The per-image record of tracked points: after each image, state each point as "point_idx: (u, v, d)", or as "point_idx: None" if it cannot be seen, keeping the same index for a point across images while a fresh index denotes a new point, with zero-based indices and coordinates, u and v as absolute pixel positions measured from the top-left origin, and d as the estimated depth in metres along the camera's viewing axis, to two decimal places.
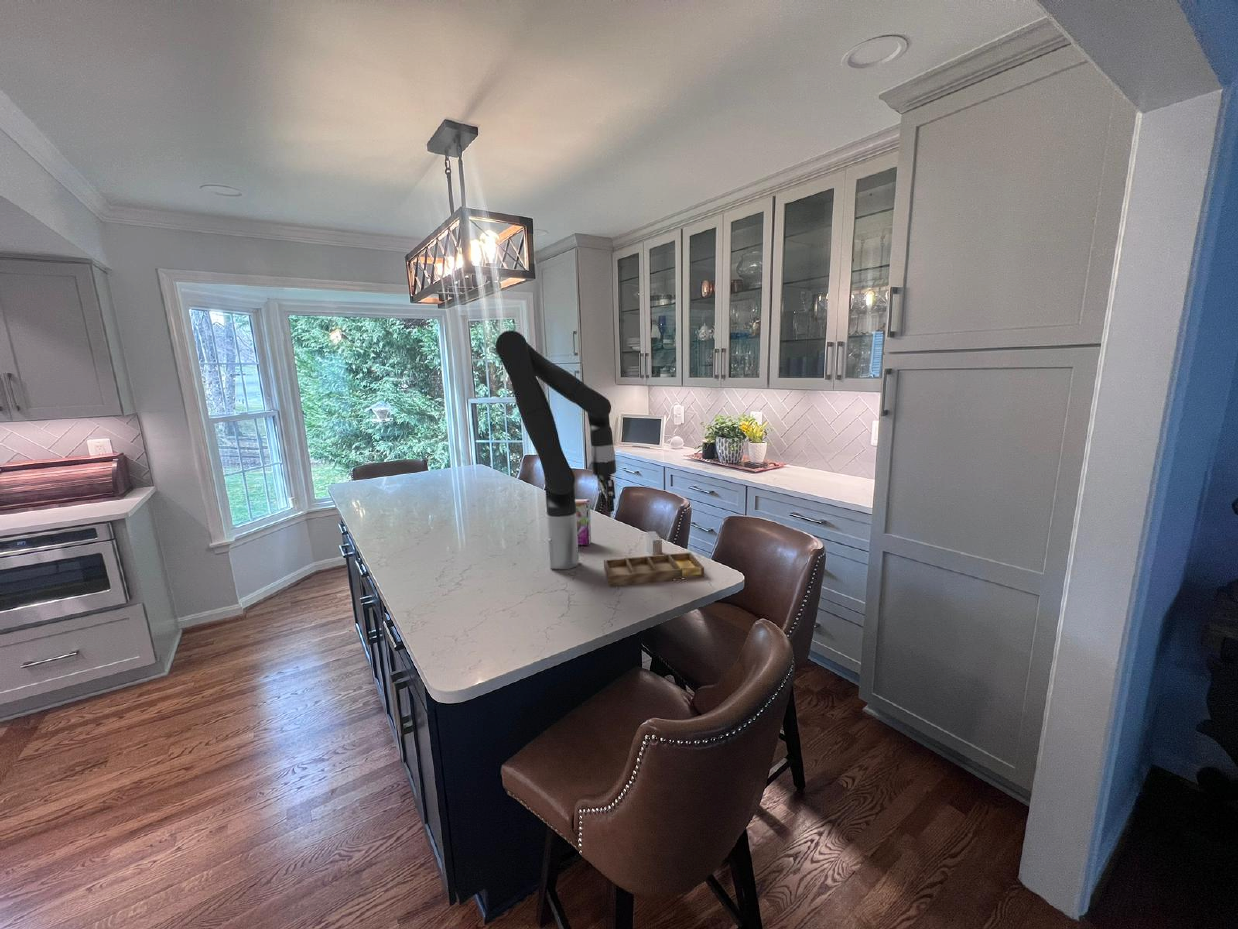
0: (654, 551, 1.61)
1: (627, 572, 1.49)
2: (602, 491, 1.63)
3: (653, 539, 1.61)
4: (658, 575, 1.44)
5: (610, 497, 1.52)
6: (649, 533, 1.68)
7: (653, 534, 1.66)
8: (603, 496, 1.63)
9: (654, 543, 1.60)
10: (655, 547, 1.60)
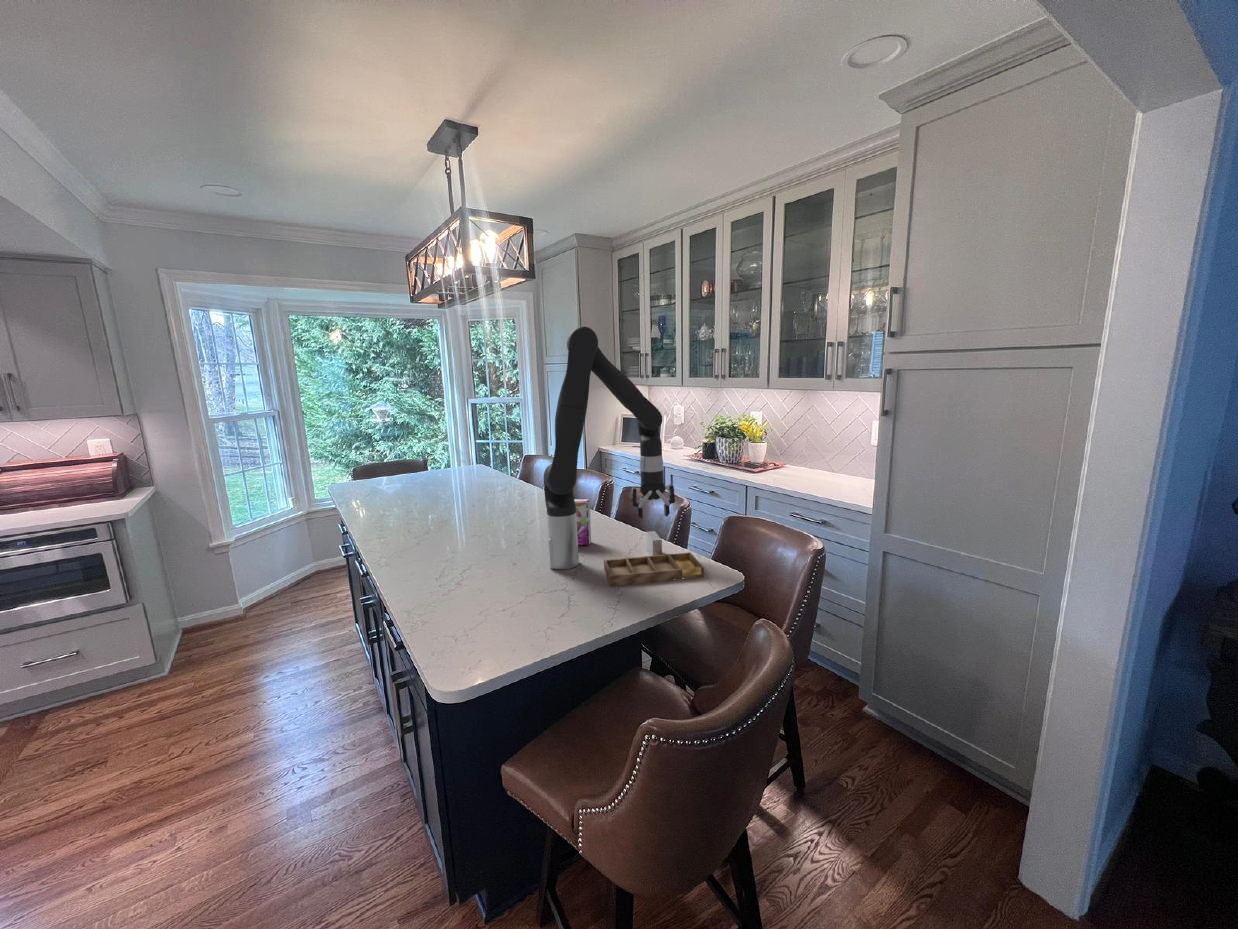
0: (654, 551, 1.61)
1: (627, 572, 1.49)
2: None
3: (653, 539, 1.61)
4: (658, 575, 1.44)
5: None
6: (649, 533, 1.68)
7: (653, 534, 1.66)
8: (641, 509, 1.63)
9: (654, 543, 1.60)
10: (655, 547, 1.60)
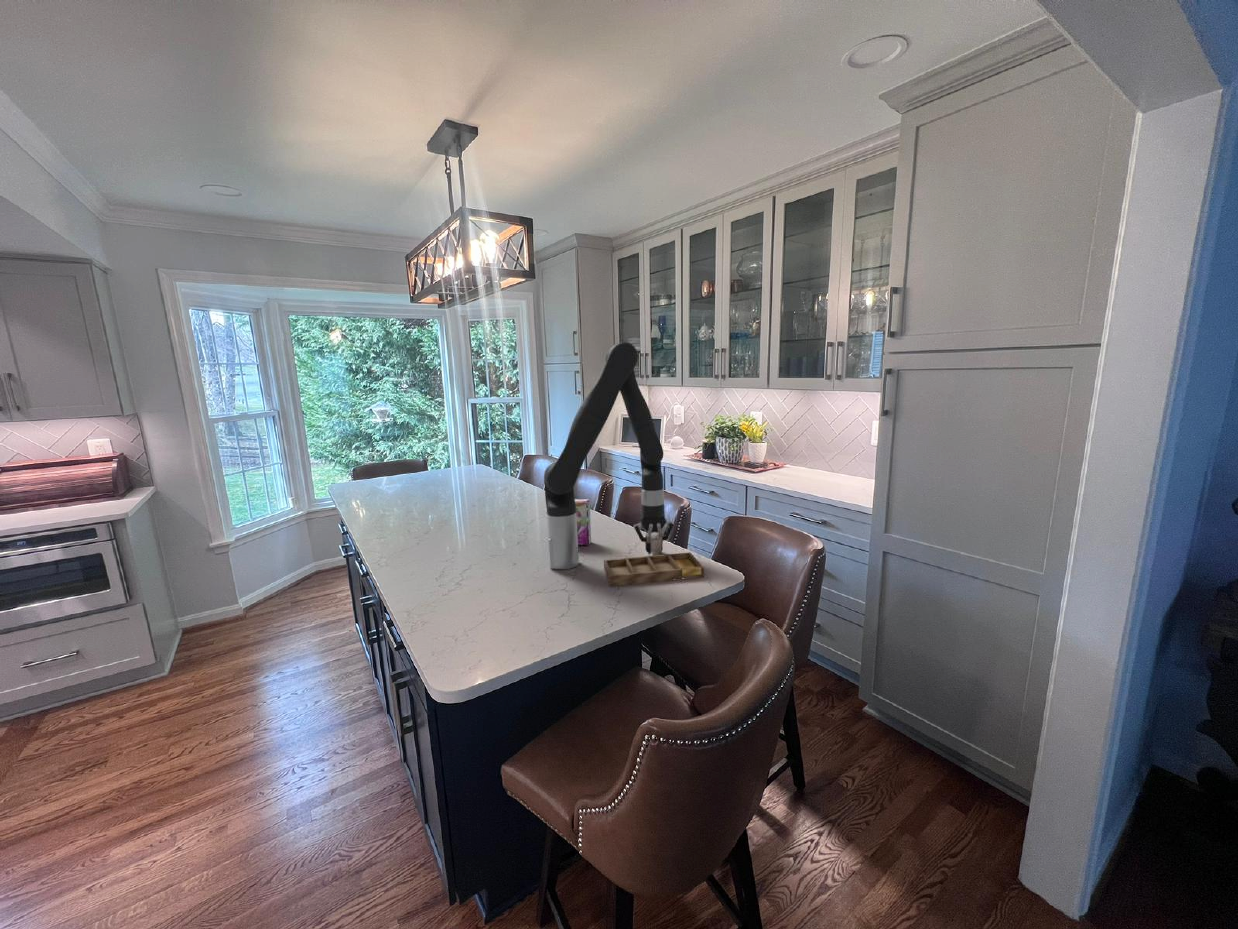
0: (654, 551, 1.61)
1: (627, 572, 1.49)
2: None
3: (653, 539, 1.61)
4: (658, 575, 1.44)
5: None
6: None
7: (653, 534, 1.66)
8: None
9: (654, 543, 1.60)
10: (655, 547, 1.60)
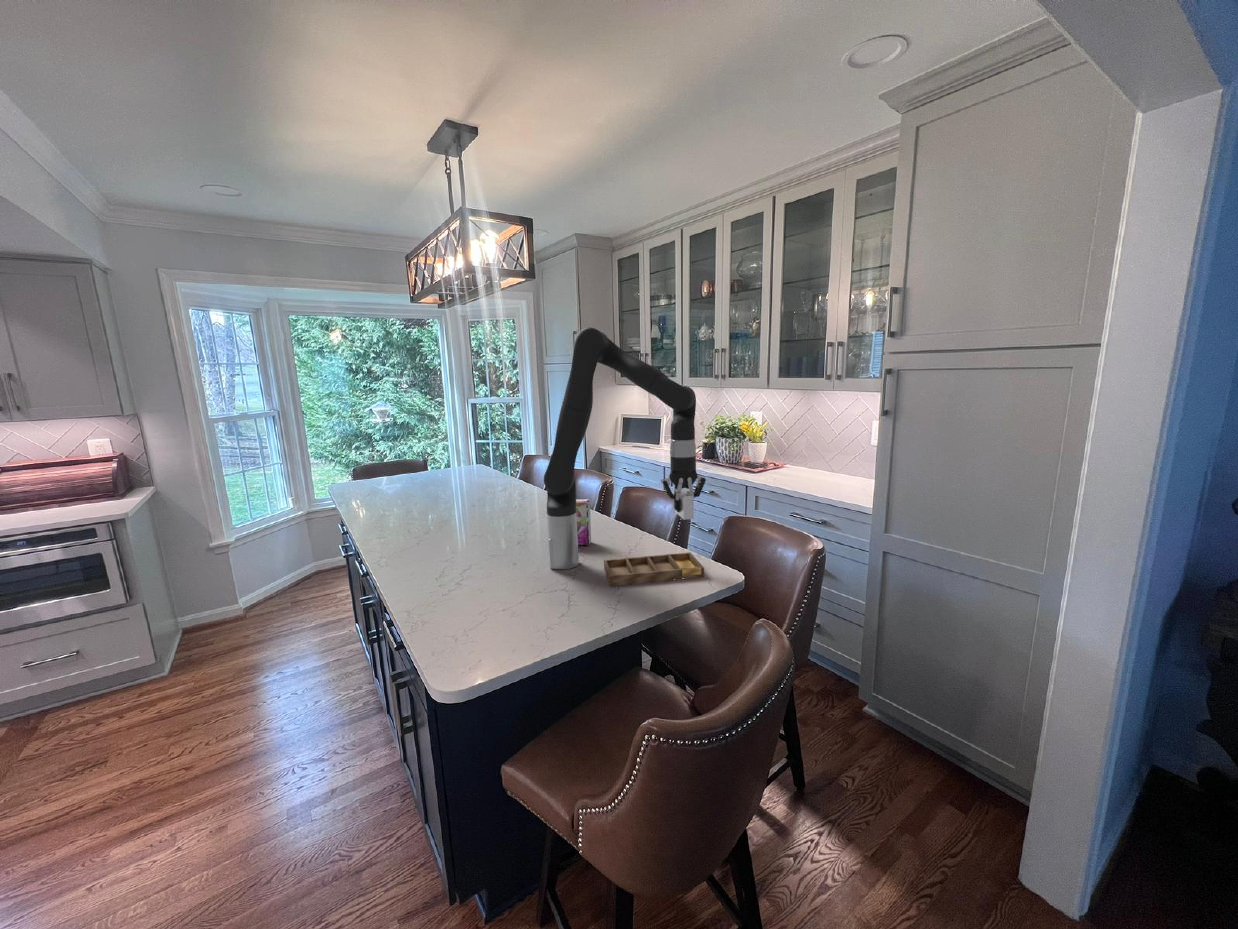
0: (685, 508, 1.44)
1: (627, 572, 1.49)
2: None
3: (683, 495, 1.45)
4: (658, 575, 1.44)
5: None
6: None
7: (682, 491, 1.50)
8: None
9: (685, 499, 1.44)
10: (686, 504, 1.44)
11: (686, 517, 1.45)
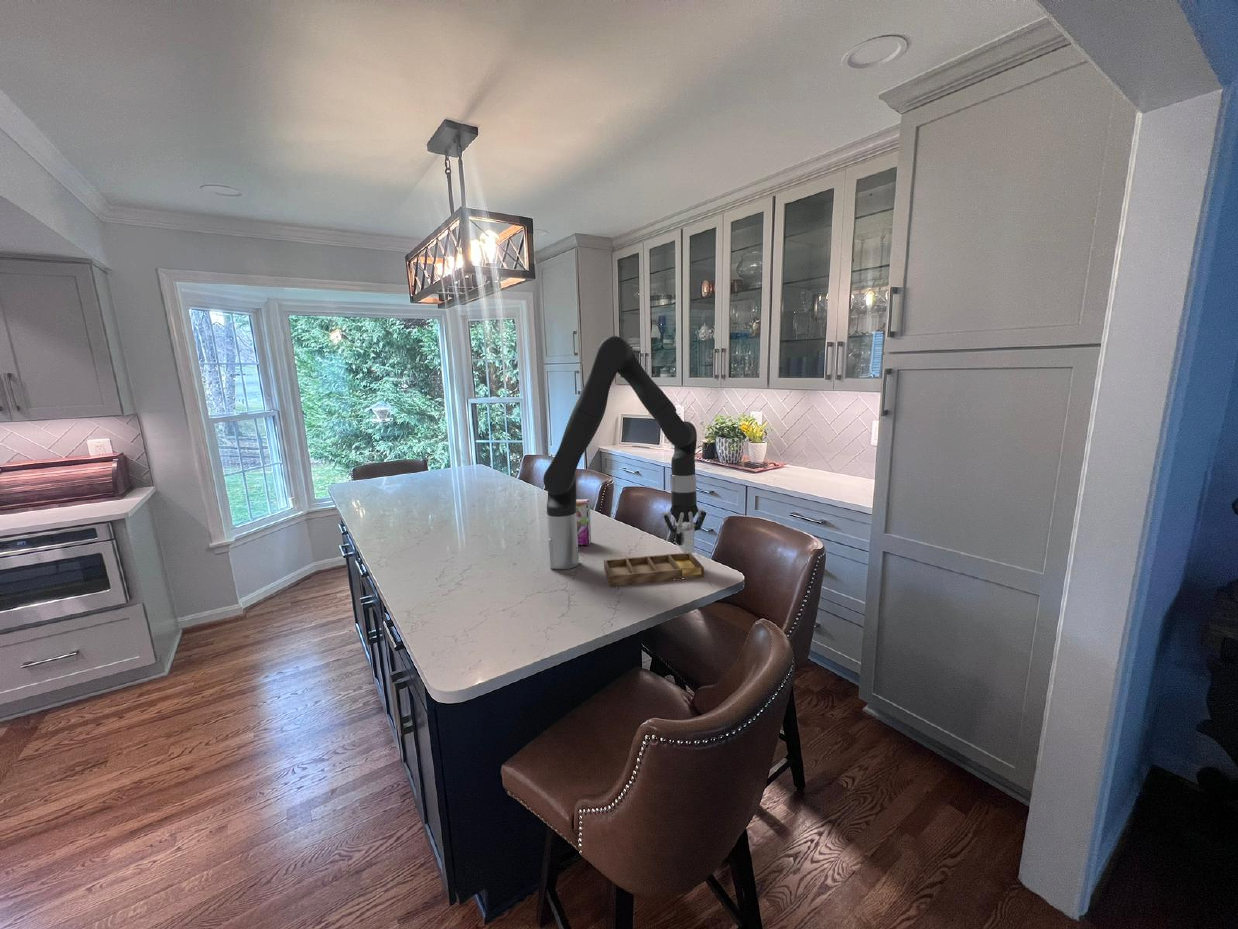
0: (686, 542, 1.46)
1: (627, 572, 1.49)
2: None
3: (684, 529, 1.46)
4: (658, 575, 1.44)
5: None
6: None
7: (683, 524, 1.52)
8: None
9: (686, 533, 1.45)
10: (687, 538, 1.46)
11: (687, 551, 1.46)
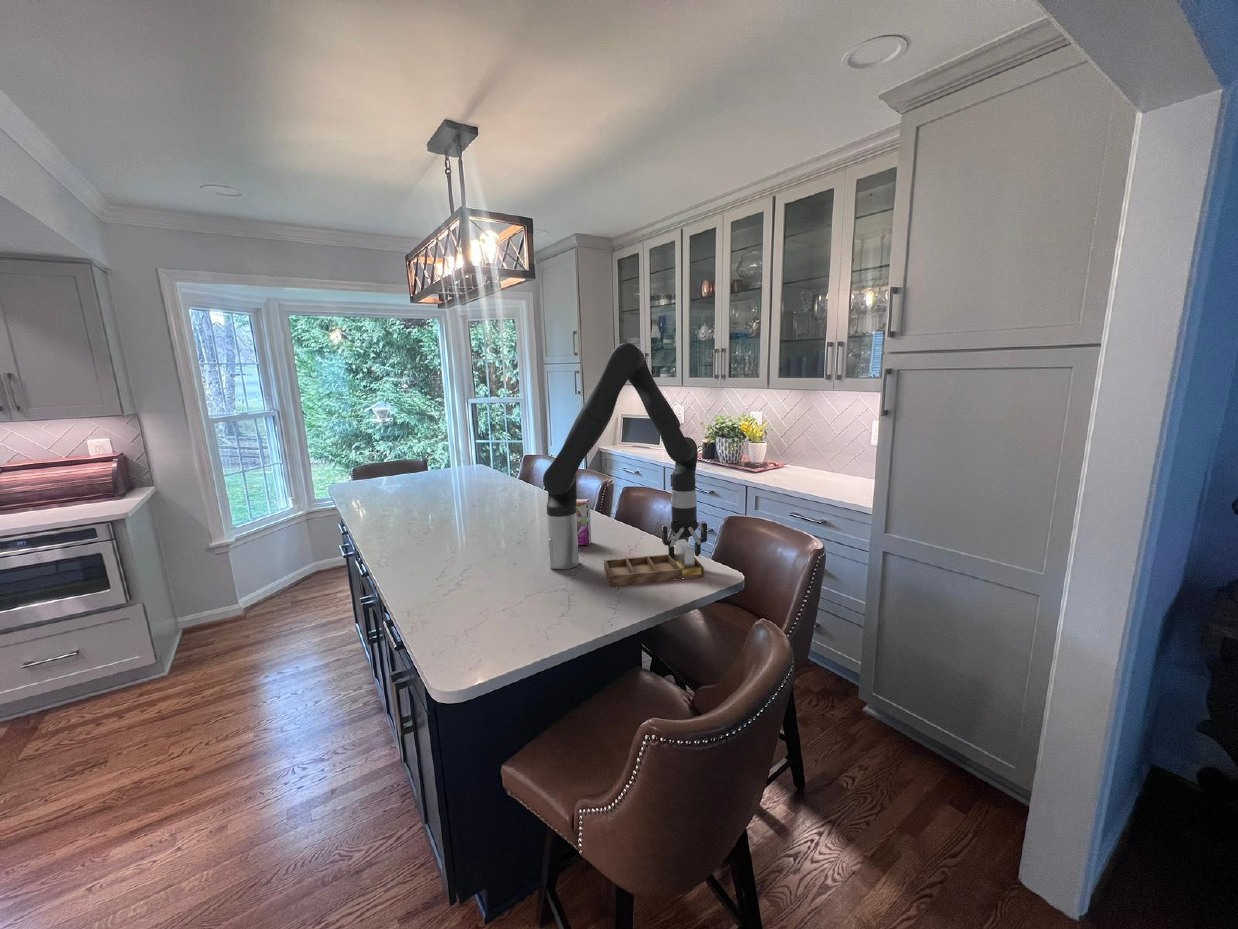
0: (686, 562, 1.47)
1: (627, 572, 1.49)
2: None
3: (685, 548, 1.47)
4: (658, 575, 1.44)
5: None
6: (679, 541, 1.54)
7: (683, 543, 1.53)
8: None
9: (686, 553, 1.46)
10: (687, 557, 1.47)
11: None
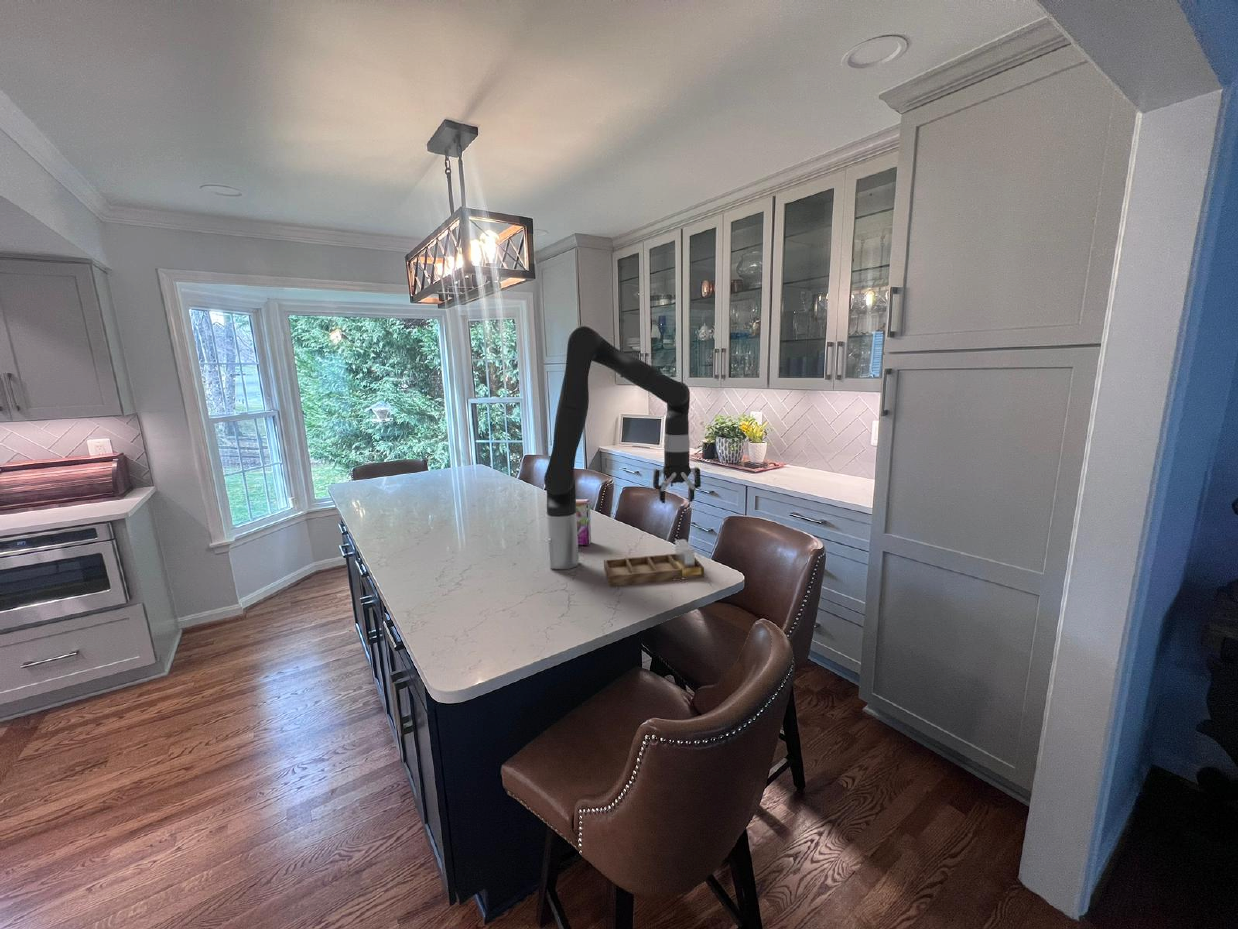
0: (686, 562, 1.47)
1: (627, 572, 1.49)
2: None
3: (685, 548, 1.47)
4: (658, 575, 1.44)
5: None
6: (679, 541, 1.54)
7: (683, 543, 1.53)
8: None
9: (686, 553, 1.46)
10: (687, 557, 1.47)
11: None
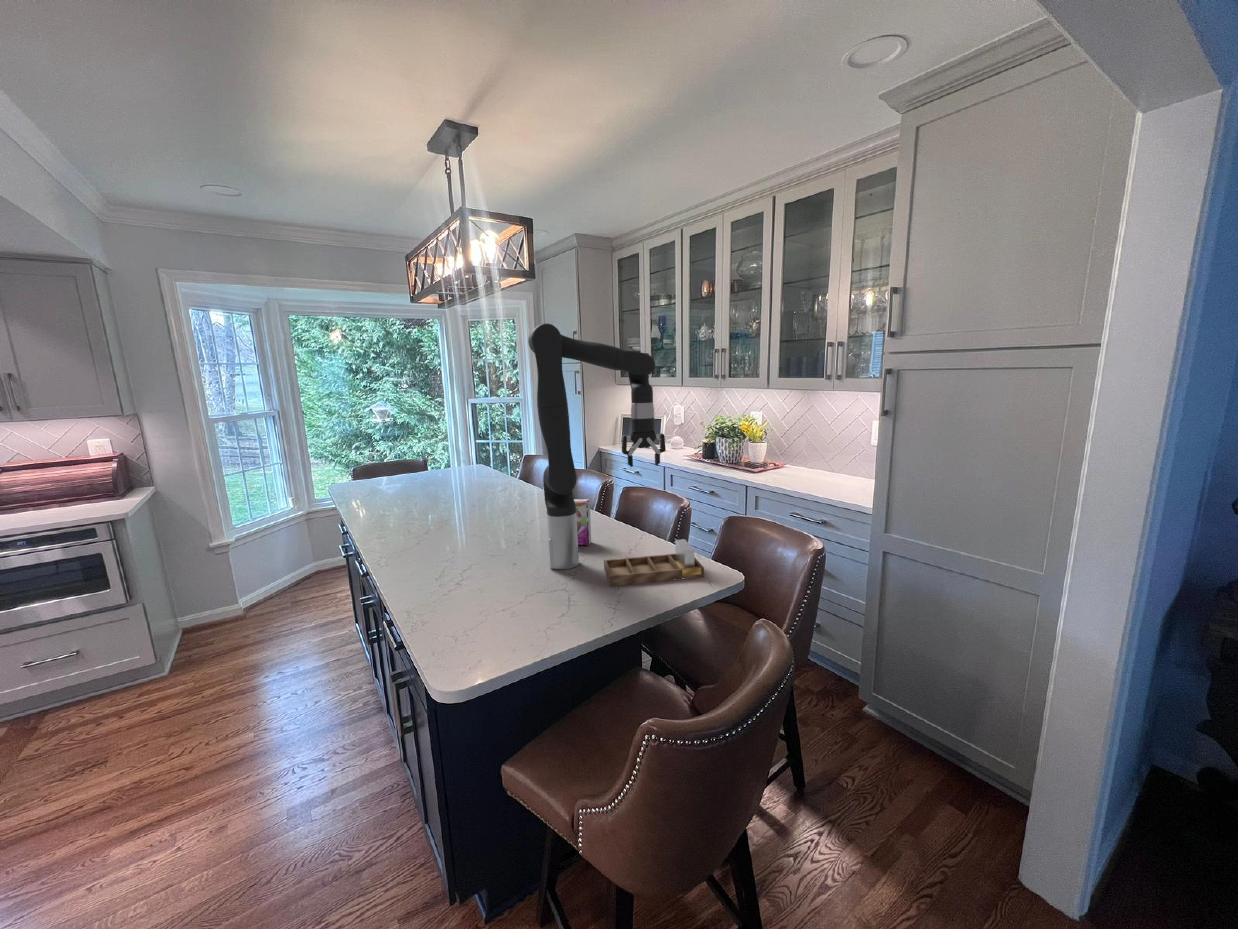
0: (686, 562, 1.47)
1: (627, 572, 1.49)
2: None
3: (685, 548, 1.47)
4: (658, 575, 1.44)
5: None
6: (679, 541, 1.54)
7: (683, 543, 1.53)
8: None
9: (686, 553, 1.46)
10: (687, 557, 1.47)
11: None
